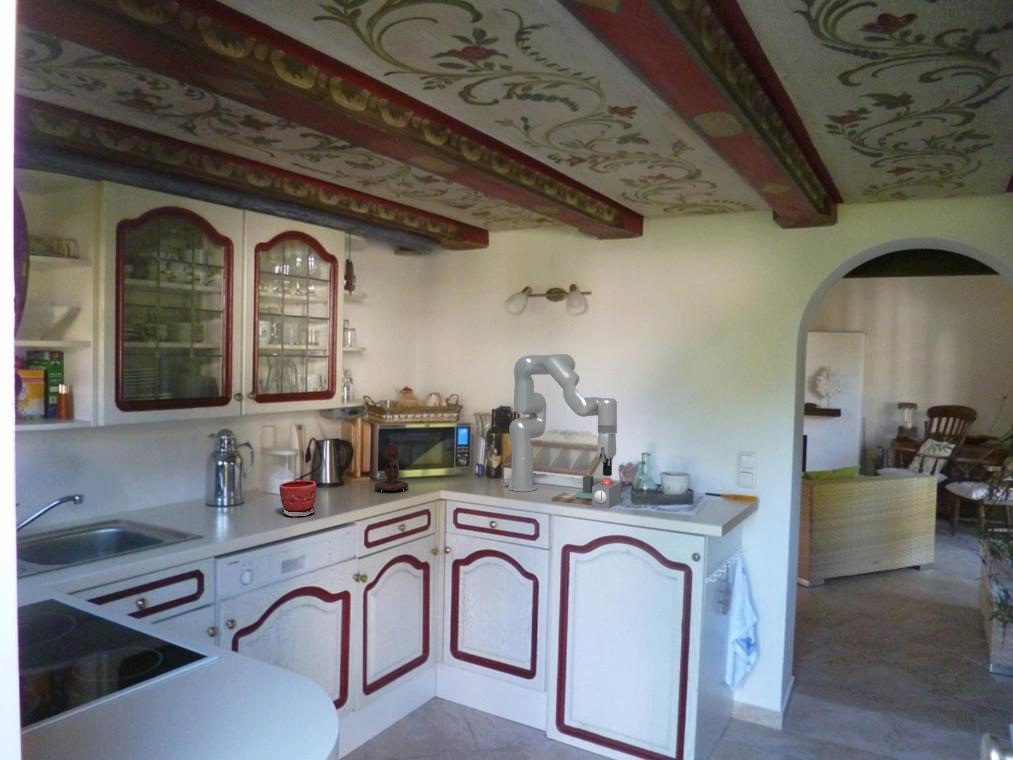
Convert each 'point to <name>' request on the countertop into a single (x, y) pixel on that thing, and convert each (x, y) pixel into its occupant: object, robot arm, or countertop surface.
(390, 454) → the dark wooden figurine
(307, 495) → the plant pot
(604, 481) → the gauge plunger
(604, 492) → the gauge cabinet
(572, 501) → the rail board
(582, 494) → the carriage
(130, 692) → the countertop surface
